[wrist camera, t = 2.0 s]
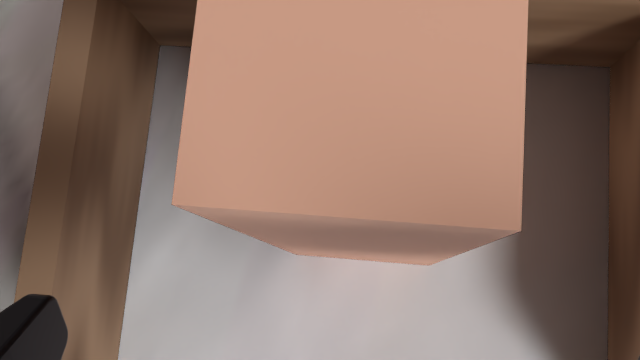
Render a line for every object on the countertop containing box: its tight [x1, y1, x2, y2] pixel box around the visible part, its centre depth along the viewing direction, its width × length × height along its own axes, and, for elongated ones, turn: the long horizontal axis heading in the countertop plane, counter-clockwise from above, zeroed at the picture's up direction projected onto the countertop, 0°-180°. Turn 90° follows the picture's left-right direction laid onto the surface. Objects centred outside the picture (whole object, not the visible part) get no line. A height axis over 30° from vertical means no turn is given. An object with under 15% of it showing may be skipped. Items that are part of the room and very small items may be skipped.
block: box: [172, 0, 528, 265], centre depth 15 cm, size 4×4×13 cm
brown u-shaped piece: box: [14, 0, 640, 360], centre depth 18 cm, size 13×18×5 cm
